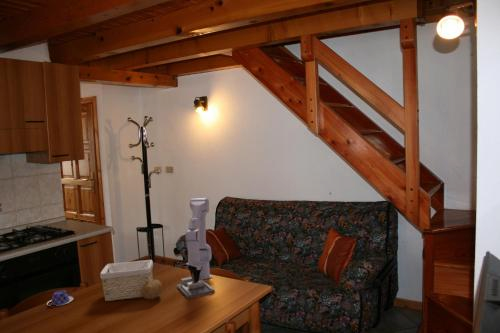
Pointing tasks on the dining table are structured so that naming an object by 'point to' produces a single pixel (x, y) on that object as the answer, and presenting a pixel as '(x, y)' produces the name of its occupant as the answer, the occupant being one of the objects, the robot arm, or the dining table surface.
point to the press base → (196, 291)
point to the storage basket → (125, 279)
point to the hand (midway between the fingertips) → (195, 280)
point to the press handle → (195, 284)
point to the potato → (151, 289)
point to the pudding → (60, 298)
